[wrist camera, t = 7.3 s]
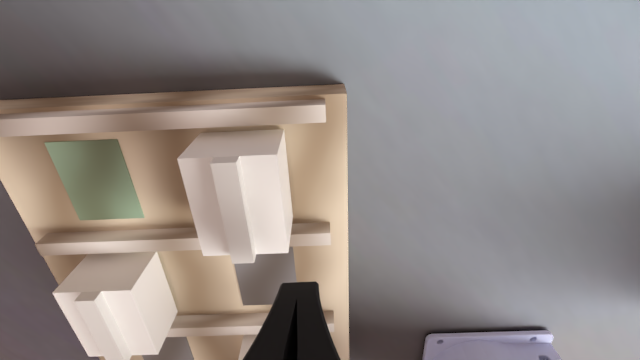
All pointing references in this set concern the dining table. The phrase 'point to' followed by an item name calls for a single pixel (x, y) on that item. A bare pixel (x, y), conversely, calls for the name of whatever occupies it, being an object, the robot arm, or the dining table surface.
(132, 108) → the switch board
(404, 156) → the dining table surface
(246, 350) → the switch knob
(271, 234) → the switch knob
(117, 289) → the switch knob
